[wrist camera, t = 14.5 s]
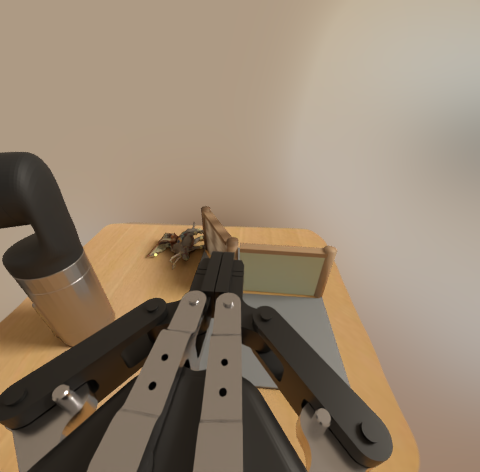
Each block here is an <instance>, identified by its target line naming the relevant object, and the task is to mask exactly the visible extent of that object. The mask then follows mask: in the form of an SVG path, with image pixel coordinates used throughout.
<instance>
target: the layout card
mask: <svg viewBox="0 0 480 472" xmlns="http://www.w3.org/2000/svg"><path fill="white" fill-rule="evenodd" d="M210 257H211V255H210V253H209V251H207V250H205V249H204V253H203V256H202V258H201V261H202V260H203V259H204V258H210ZM238 260H240V248H238ZM201 261H200V262H201ZM243 301H244V302H245V303H246V304H247V305H249V306H251V307H253V308H256V309H257V308H258V307H260V306H269V307H272V308H274V309H275V310H276V311H277V312H278V313H279V314H280V315H281V316H282V317H283V318H284V319H285V320H286V321H287V322H288V323H289V324H290V325H291V326H292V328H293V329H294V330H295V331H296V332H297V333H298V334H299V335H300V336H301V337H302V338H303V339H304V340H305V341H306V342H307V343H308V344H309V345H310V346H311V347H312V348H313V349H314V350H315V351H316V352H317V354H318V355H319V356H320V357H321V358H322V359H323V360H324V361H325V362H326V363H327V364H328V365H329V366H330V367H331V368H332V369H333V370H334V371H335V372H336V373H337V374H338V375H339V376H340V377H341V379H342V380H343V381H344V382H345V383H346V384H347V385H348V386H349V387H350V384H349V381H348V378H347V375H346V372H345V369H344V366H343V362H342V359H341V356H340V353H339V350H338V347H337V343H336V340H335V337H334V334H333V331H332V328H331V324H330V321H329V318H328V315H327V312H326V309H325V306H324V302H323V299H322V297H320V298H317V297H315V296H310V295H297V294H284V293H271V292H258V291H245V290H243ZM213 323H214V318H211V321H210V326H209V333H208V336H207V340H206V343H205V347H204V350H203V354H202V357H201V361H200V367H199V371H200V370H205V369H207V361H208V353H209V344H210V337H211V334H212V332H213ZM242 377H244V378H246V379H247V380H249V381H250V382H251V383H252V384H253V385H254V386H255V387H258V388H270V389H279V388H278V387H277V386H276V384H275V383H274V381H273V380H272V379H271V377H270V376H269V374H268V373H267V372H266V370H265V369H264V367H263V366H262V365H261V363H260V362H259V360H258V359H257V358H256V356H255V355H254V353H253V352H252V350H251V348H250V347H248V346H245V345H243V344H242Z"/></svg>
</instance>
